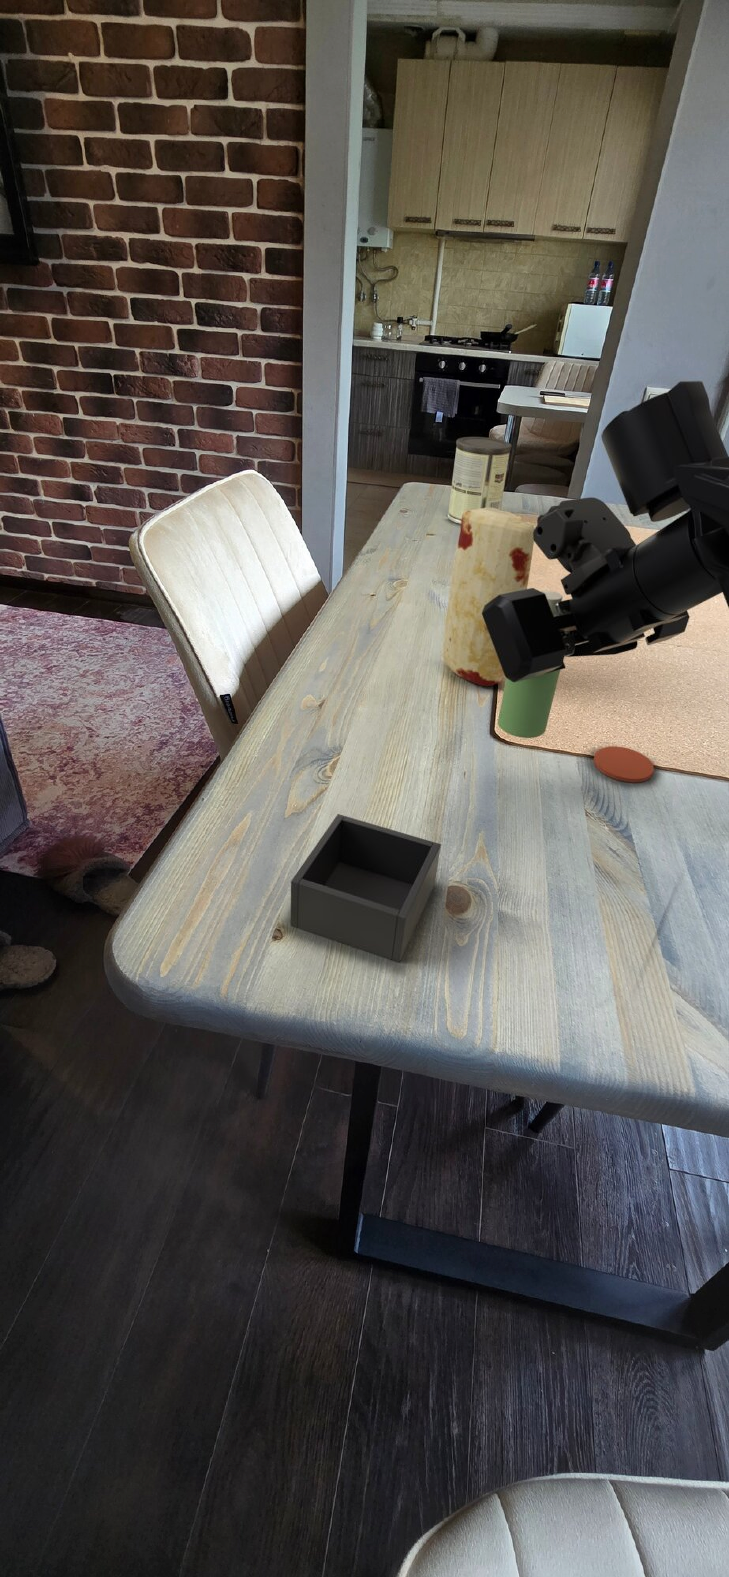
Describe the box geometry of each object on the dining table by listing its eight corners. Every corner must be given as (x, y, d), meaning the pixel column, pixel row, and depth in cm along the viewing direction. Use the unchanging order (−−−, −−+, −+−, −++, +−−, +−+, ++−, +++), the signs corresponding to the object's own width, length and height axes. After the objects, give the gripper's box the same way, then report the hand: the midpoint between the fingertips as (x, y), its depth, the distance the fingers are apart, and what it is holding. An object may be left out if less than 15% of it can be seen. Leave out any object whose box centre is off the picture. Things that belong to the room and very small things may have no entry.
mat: (658, 762, 78) (660, 758, 77) (644, 789, 73) (645, 785, 73) (603, 744, 80) (604, 740, 80) (586, 769, 76) (587, 765, 75)
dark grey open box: (433, 888, 60) (441, 843, 57) (399, 965, 53) (405, 918, 50) (335, 858, 62) (337, 813, 59) (290, 927, 55) (290, 881, 53)
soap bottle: (555, 734, 67) (588, 602, 60) (513, 741, 65) (542, 607, 58) (528, 710, 70) (557, 583, 63) (488, 717, 69) (513, 587, 61)
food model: (426, 670, 91) (447, 503, 80) (459, 655, 96) (484, 494, 84) (490, 700, 86) (523, 526, 74) (522, 683, 90) (558, 516, 79)
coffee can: (455, 508, 151) (465, 434, 143) (504, 517, 149) (517, 441, 140) (440, 521, 144) (449, 442, 135) (491, 530, 141) (504, 451, 133)
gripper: (705, 461, 56) (567, 559, 70) (524, 480, 47) (408, 588, 61) (758, 597, 55) (609, 668, 69) (586, 641, 47) (454, 713, 60)
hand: (524, 657), depth 65 cm, fingers closed on soap bottle, 4 cm apart
